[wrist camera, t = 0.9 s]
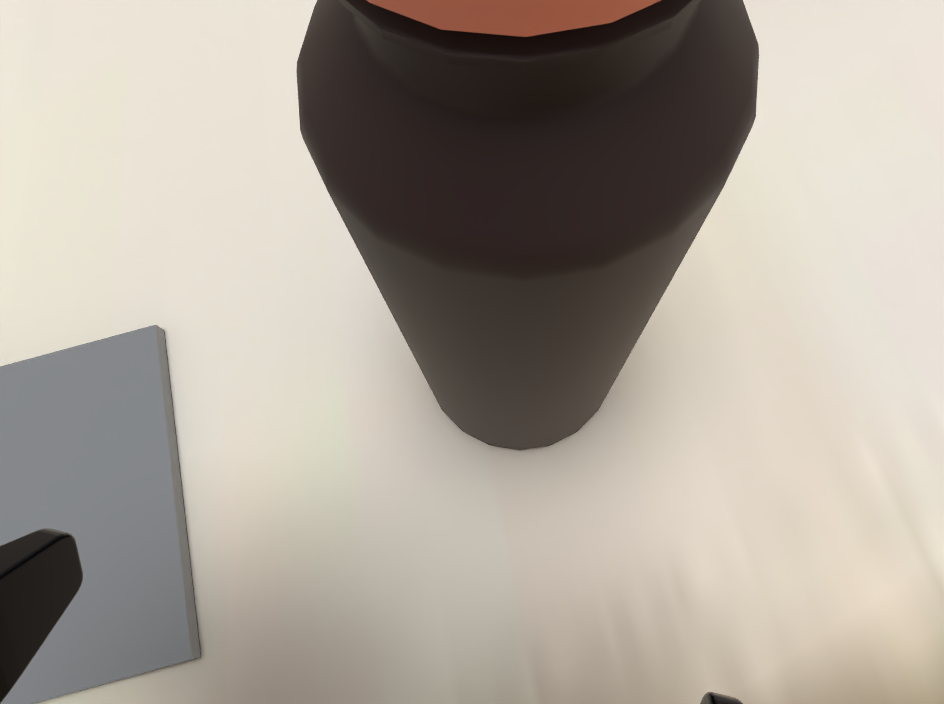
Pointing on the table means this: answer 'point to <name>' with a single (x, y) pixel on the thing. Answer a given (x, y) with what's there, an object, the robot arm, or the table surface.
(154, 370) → the slate coaster
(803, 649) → the table surface
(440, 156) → the vinegar
